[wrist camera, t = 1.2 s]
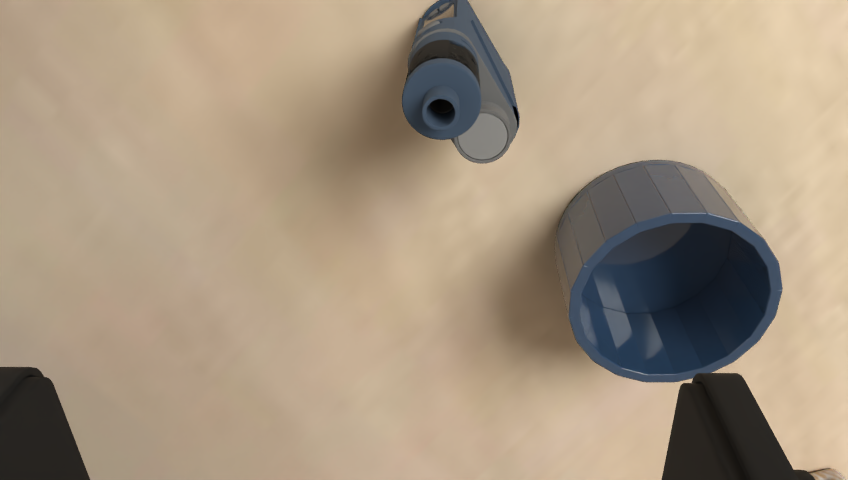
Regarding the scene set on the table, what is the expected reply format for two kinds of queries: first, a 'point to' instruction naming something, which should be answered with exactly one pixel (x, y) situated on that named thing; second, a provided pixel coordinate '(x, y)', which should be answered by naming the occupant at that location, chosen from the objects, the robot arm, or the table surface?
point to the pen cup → (664, 273)
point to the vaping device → (459, 84)
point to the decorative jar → (828, 475)
